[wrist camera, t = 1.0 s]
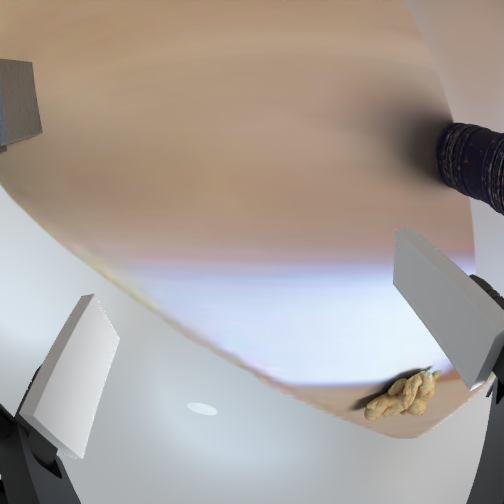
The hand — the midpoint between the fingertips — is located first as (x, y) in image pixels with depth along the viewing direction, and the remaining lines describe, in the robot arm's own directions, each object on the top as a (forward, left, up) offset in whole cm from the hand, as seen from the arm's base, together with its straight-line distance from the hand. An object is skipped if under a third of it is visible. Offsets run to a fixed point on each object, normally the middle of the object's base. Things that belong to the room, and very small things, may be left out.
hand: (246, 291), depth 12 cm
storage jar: (+1, +31, -23) cm, 39 cm away
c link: (-16, -27, -23) cm, 39 cm away
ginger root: (+48, +27, -24) cm, 60 cm away
